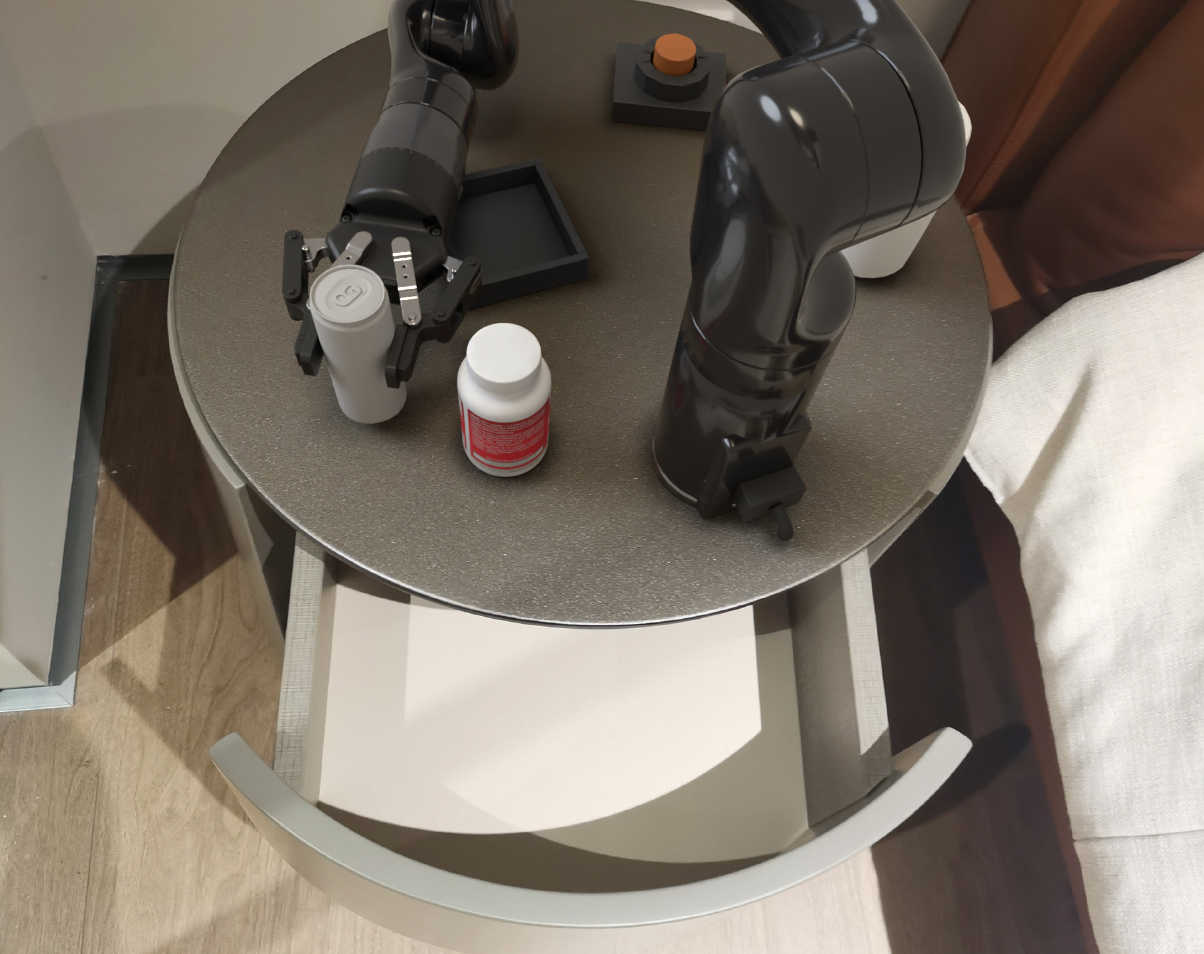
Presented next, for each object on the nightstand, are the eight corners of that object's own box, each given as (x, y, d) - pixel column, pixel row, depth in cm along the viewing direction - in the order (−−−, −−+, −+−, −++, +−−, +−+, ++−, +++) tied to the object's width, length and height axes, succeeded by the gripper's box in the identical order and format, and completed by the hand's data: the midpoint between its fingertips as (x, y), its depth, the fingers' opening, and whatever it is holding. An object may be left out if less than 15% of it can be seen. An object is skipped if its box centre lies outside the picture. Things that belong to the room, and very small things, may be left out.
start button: (693, 52, 87) (696, 35, 86) (692, 79, 86) (696, 62, 84) (653, 48, 87) (655, 31, 86) (652, 75, 86) (654, 58, 84)
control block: (721, 73, 92) (729, 36, 88) (721, 133, 88) (730, 96, 84) (615, 62, 91) (619, 24, 88) (611, 121, 87) (615, 84, 84)
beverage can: (421, 396, 71) (403, 289, 60) (375, 440, 69) (348, 338, 58) (372, 361, 72) (346, 250, 61) (325, 403, 70) (290, 296, 59)
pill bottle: (564, 455, 70) (572, 366, 61) (490, 494, 69) (486, 408, 59) (519, 393, 73) (520, 298, 63) (447, 429, 71) (436, 336, 61)
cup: (788, 252, 82) (837, 115, 69) (843, 198, 85) (899, 59, 73) (873, 308, 79) (940, 177, 67) (926, 250, 83) (998, 116, 70)
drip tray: (587, 278, 79) (589, 257, 76) (463, 311, 76) (461, 290, 74) (539, 179, 83) (539, 157, 81) (420, 206, 81) (418, 184, 79)
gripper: (300, 129, 68) (223, 323, 60) (505, 159, 68) (456, 357, 60) (320, 207, 74) (253, 391, 66) (506, 234, 74) (462, 422, 66)
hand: (350, 374), depth 63 cm, fingers closed on beverage can, 5 cm apart
